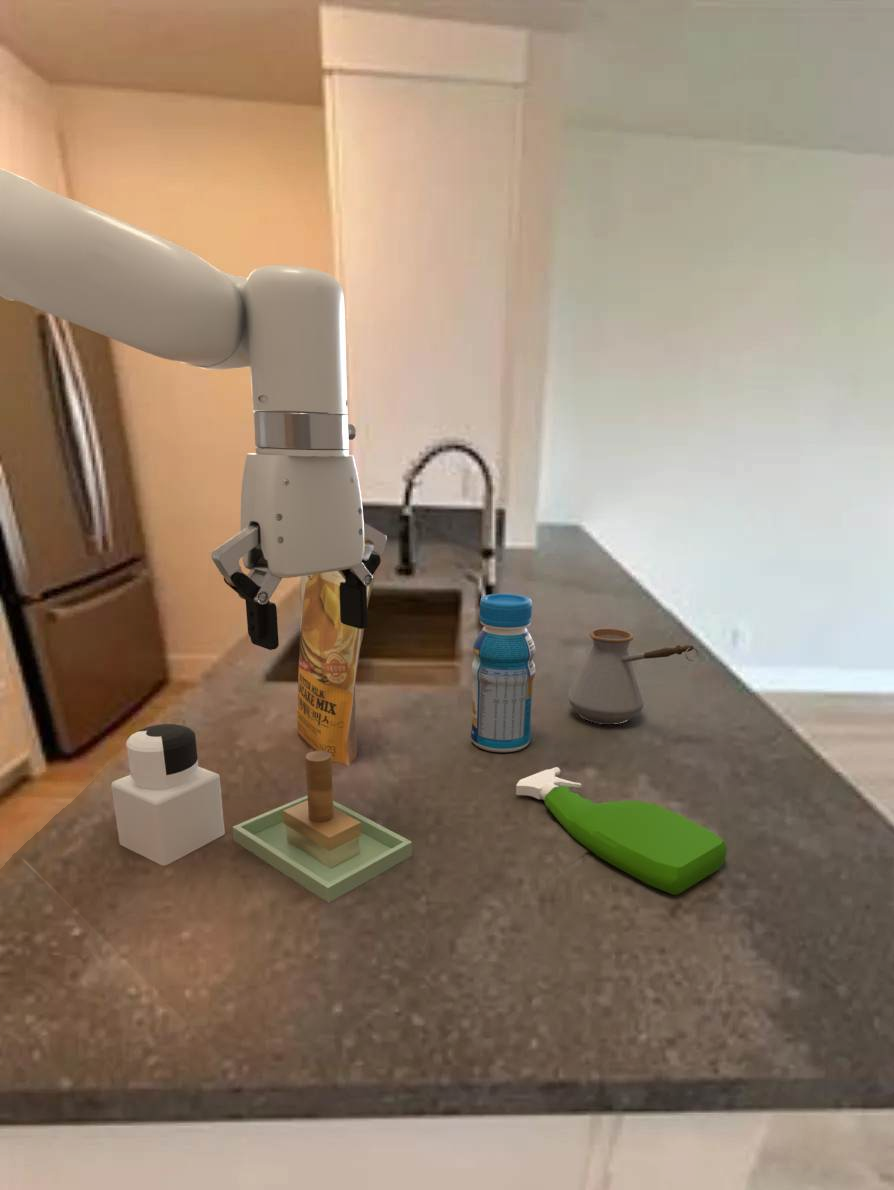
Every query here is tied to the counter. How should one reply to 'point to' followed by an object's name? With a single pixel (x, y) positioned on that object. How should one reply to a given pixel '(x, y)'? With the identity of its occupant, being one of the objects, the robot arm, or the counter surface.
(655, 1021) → the counter surface
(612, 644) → the coffee pot
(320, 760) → the brush
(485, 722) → the beverage bottle
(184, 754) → the medicine bottle
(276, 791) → the counter surface
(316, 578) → the pancake mix bag
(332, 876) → the tray
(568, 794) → the spray bottle
